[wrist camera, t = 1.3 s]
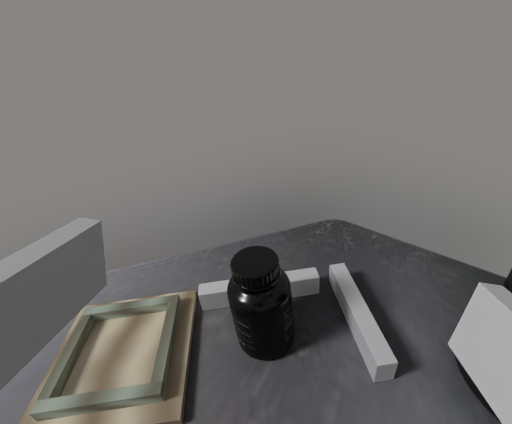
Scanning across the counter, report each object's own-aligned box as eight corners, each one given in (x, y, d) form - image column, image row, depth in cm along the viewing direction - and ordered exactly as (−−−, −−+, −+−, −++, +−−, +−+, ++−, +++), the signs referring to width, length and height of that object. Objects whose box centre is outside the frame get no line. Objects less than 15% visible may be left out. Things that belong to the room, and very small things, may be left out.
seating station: (197, 294, 40) (193, 282, 39) (182, 424, 26) (175, 412, 25) (85, 311, 39) (78, 299, 38) (11, 451, 26) (-5, 440, 24)
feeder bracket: (342, 278, 40) (343, 263, 38) (393, 379, 28) (398, 362, 26) (203, 299, 39) (199, 284, 37) (194, 411, 27) (186, 395, 26)
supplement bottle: (270, 302, 37) (262, 230, 31) (306, 338, 32) (305, 261, 26) (227, 332, 34) (208, 258, 28) (259, 376, 29) (245, 299, 23)
